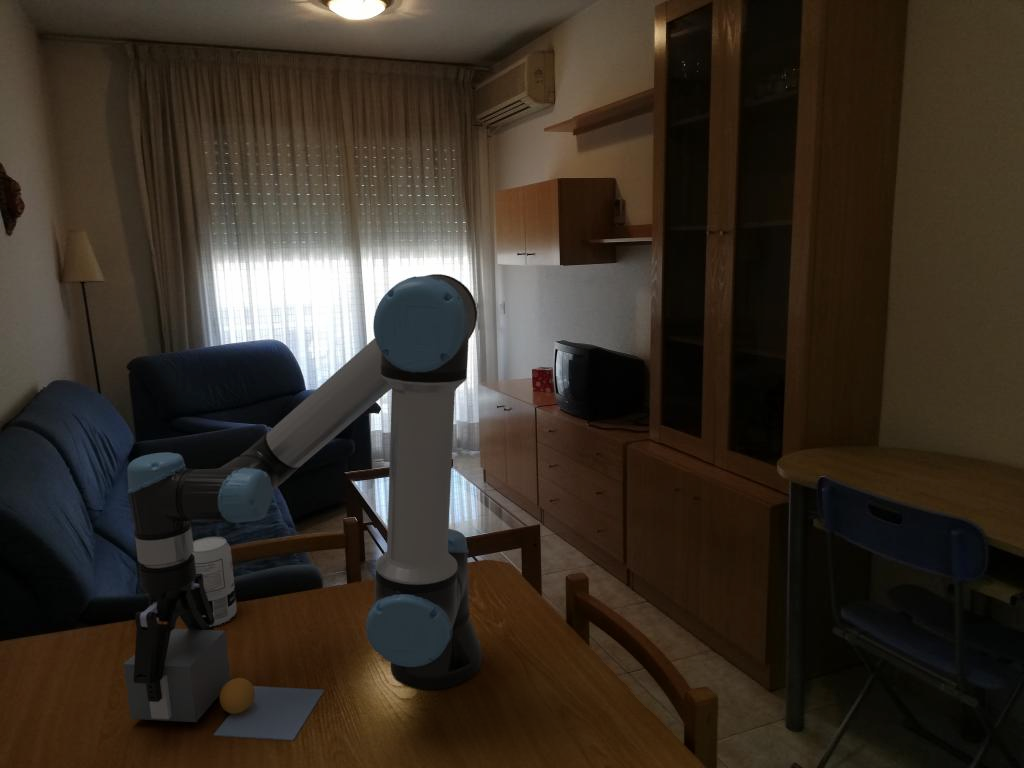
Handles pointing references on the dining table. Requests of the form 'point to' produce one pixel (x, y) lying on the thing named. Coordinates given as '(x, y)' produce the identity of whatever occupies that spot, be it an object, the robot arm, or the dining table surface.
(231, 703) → the ball
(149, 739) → the dining table surface
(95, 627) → the dining table surface
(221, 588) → the supplement can
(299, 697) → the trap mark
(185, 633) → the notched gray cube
